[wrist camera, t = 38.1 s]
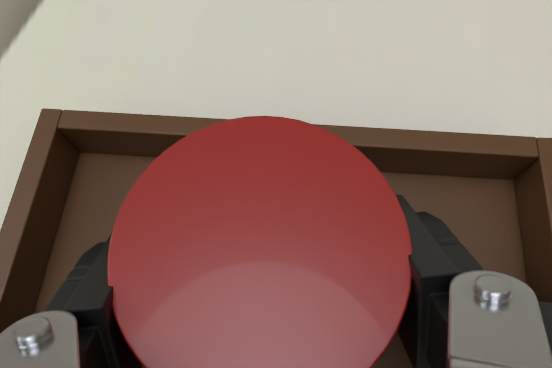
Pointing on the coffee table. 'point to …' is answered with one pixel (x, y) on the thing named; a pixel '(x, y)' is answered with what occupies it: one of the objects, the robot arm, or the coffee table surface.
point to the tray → (370, 141)
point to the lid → (260, 252)
